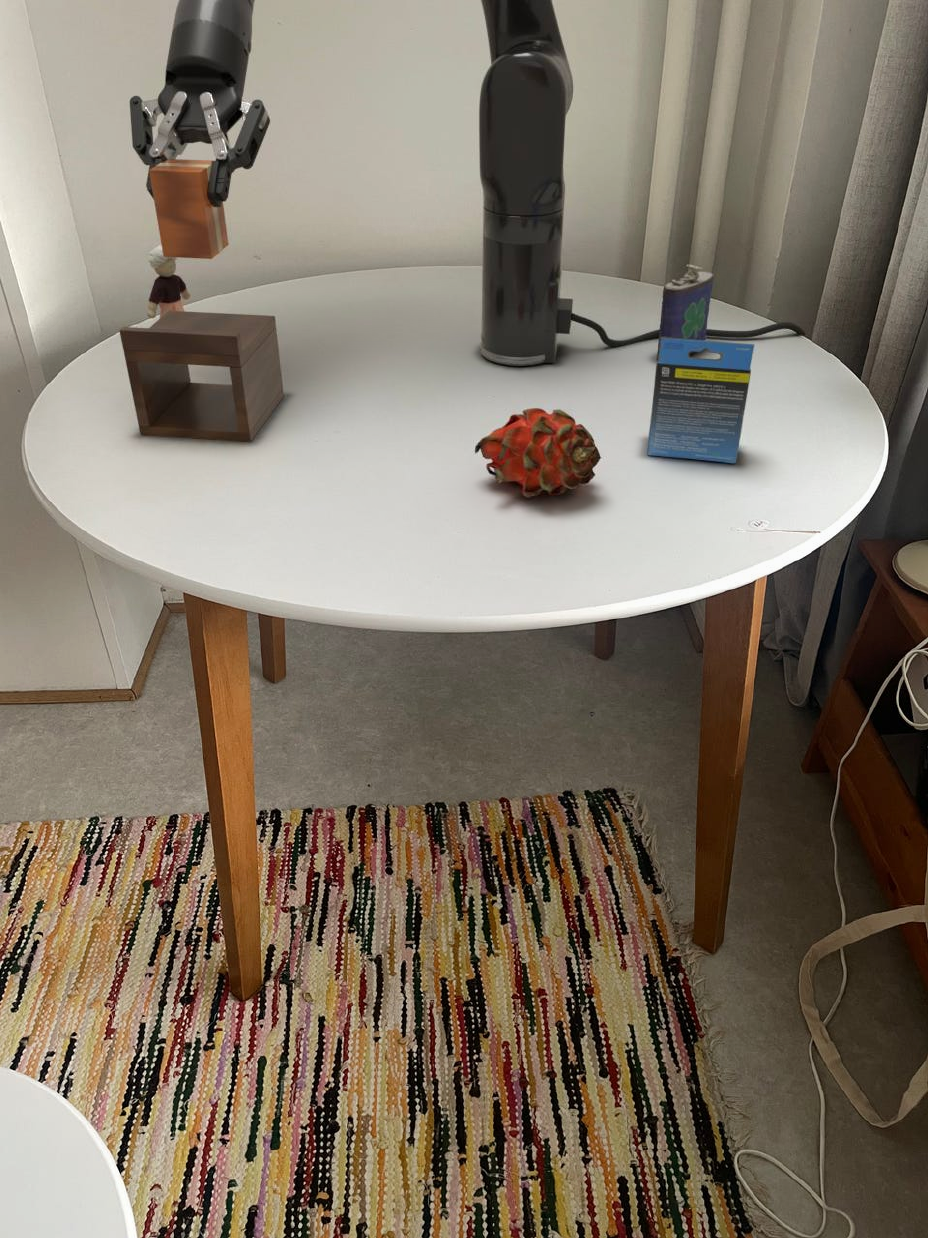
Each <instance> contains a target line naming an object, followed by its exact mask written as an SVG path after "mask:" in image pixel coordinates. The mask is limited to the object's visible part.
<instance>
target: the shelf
mask: <svg viewBox="0 0 928 1238" xmlns="http://www.w3.org/2000/svg"><path fill="white" fill-rule="evenodd" d="M276 323H277V321H276V316H275V315H264V314H262V315H261V314H247V313H246V314H243V313H225V312H224V313H223V312H222V313H221V312H202V311H185V310H184V311H168V312H167V313H166V314H165V315H163V316H162V317H161V318H160V317H159V318H158V320H156V321H155V322H154V323H153V324H151V326H149V327H134V326H131V327H130V326H123V327H121V328H120V329H119V330H118V331H119V336H120V342H121V345H122V350H123V355H124V359H125V360H124V361H125V365H126V370H127V376H128V379H129V384H130V385H129V386H130V389H131V394H132V400H133V404H134V409H135V414H136V418H137V424H138V429H139V433H140V435H142V436H152V437H153V436H154V437H167V438H168V437H170V438H182V439H183V438H185V439H199V440H200V439H201V440H216V441H217V440H218V441H231V442H244V443H245V442H248V443H251V442H252V441H253V439H255V437H256V436H257V434H258V433H259V432H260V430H261V429H262V427H263V426H264V424H265V423H266V422H267V420H268V419H269V417H270V416H271V415H272V414H273V412H274V411H275V409H276V408H277V406H278V405H279V404H280V402H281V401H282V399H283V398H284V397H285V394H284V386H283V385H284V384H283V376H282V366H281V358H280V349H279V340H278V339H279V338H278V332H277V330H278V329H277V324H276ZM191 365H192V366H204V367H205V366H206V367H224V368H229V373H230V381H231V384H222V383H221V384H220V383H218V384H217V383H205V382H204V383H203V382H192V381H191V376H190V375H191V373H190V369H189V366H191Z"/></svg>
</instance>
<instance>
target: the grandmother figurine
mask: <svg viewBox="0 0 928 1238" xmlns="http://www.w3.org/2000/svg"><path fill="white" fill-rule="evenodd" d="M177 258H178V257H164V256H163V250H162V244H160V245H158V246H156V247H155V248H153V249H152V250H151V251H149V253H148V262H149V265H150V268H153V270H154V272H155V273H156V274H157V275H158V276H157V277H156V278H155V279H154V281H153V285H152V287H151V291H150V295H149V297H148V306H147V309H148V310H147V312H146V315H147V317H148V319H155V318H156V317H157V310H158V307H159V308H160V309H159V310H160V311H159V319H160V318H161V317H162V316H163V315H165V314H166V313H167V312H168V311H185V309H184V305H183V302H182V299H183V300H184V301H187V300H189V299H190V298H191V293H190V292H189V291H188V288H187V284H186V283H185V281H184V280H183V278H182V277H180V275H176V274H175V272H176V270H177V263H176V260H178V259H177Z"/></svg>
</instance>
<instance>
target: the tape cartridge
mask: <svg viewBox="0 0 928 1238" xmlns="http://www.w3.org/2000/svg"><path fill="white" fill-rule="evenodd" d="M754 349H755V344H754V343H740V342H731V341H730V342H729V341H718V340H717V341H716V340H707V339H705V340H694V339H680V338H669V337H660V347H659V355H658V362H657V361H656V365H655V373H654V383H653V385H654V386H653V395H652V401H651V402H652V403H651V413H650V420H649V421H650V422H649V428H648V429H649V430H648V437H647V446H646V454H647V456H649V457H651V456H652V457H664V458H676V459H689V460H690V459H691V460H699V461H700V460H701V461H710V462H719V463H727V464H736V463H737V460H738V459H737V458H738V453H739V447H740V443H741V442H740V441H741V436H742V431H743V423H744V418H745V411H746V405H747V400H748V393H749V386H750V381H751V376H752V375H751V374H752V369H751V366H752V360H753V354H754V351H755V350H754ZM704 350H707V351H708V352H709V353H710V354H717V355H719V357H718V358H707V357H692V356H689V353H690V352H692V351H694V352H696V353H701V352H702V351H704Z"/></svg>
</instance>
